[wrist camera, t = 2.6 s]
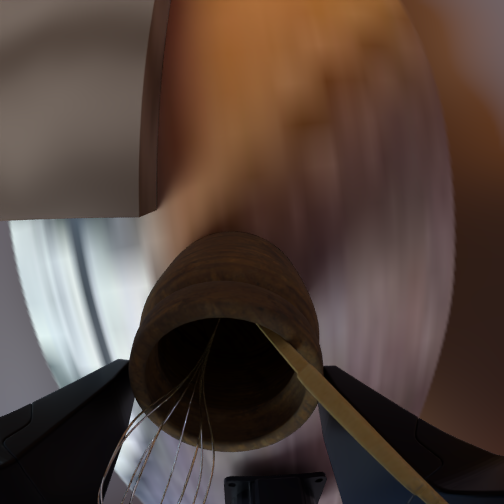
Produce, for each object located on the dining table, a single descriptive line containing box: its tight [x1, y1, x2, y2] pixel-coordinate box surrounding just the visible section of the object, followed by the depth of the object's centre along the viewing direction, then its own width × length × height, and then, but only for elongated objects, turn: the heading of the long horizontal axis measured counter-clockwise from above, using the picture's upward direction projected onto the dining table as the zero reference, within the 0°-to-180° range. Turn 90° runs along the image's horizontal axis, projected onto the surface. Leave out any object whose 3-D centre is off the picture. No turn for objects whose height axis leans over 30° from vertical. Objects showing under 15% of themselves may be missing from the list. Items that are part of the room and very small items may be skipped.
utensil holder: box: [97, 232, 448, 504], centre depth 8 cm, size 6×6×12 cm
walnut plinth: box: [0, 0, 171, 221], centre depth 10 cm, size 14×14×2 cm
